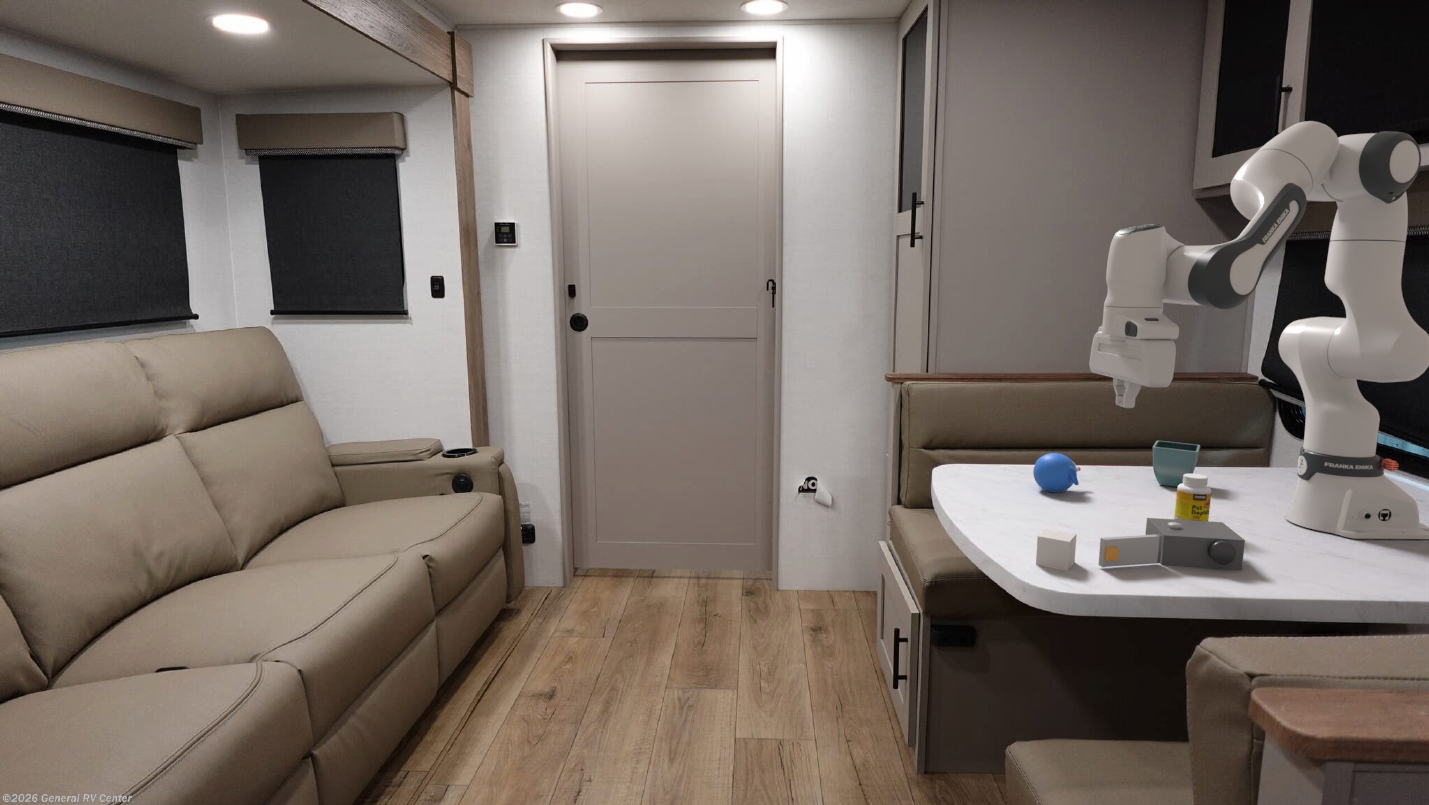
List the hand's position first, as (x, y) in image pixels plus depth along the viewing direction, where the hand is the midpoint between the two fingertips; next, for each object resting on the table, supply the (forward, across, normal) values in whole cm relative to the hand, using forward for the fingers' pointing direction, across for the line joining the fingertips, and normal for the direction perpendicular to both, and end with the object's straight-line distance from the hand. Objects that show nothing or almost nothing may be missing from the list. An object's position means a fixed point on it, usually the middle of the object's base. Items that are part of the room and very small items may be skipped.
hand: (1124, 406), depth 145 cm
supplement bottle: (+25, -11, +21) cm, 34 cm away
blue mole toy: (+25, -39, +8) cm, 47 cm away
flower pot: (+25, -43, +36) cm, 62 cm away
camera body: (+25, +4, +11) cm, 28 cm away
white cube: (+25, +6, -13) cm, 29 cm away
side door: (+25, +8, -1) cm, 26 cm away
